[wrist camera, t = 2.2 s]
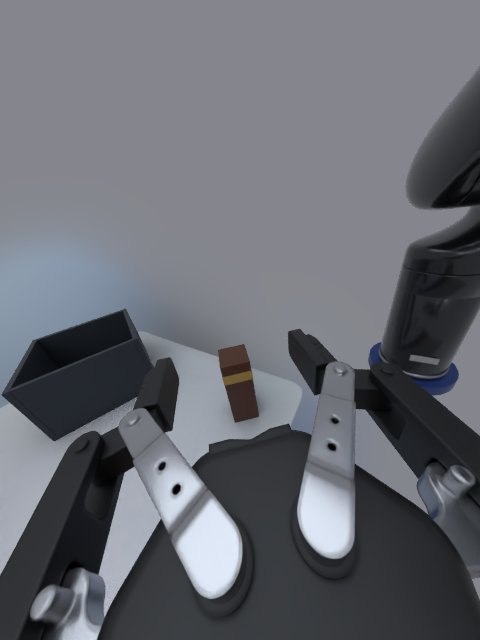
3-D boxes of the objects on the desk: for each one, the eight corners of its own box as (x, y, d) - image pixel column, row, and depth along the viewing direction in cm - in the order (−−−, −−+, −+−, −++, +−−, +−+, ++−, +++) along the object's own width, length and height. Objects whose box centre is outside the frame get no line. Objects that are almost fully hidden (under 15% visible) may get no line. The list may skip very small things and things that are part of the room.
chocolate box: (253, 396, 35) (244, 343, 29) (259, 416, 32) (250, 361, 26) (231, 401, 35) (217, 349, 29) (234, 423, 31) (219, 368, 25)
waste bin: (144, 345, 55) (125, 308, 50) (160, 383, 41) (137, 338, 35) (65, 379, 47) (32, 340, 41) (53, 441, 33) (1, 395, 27)
